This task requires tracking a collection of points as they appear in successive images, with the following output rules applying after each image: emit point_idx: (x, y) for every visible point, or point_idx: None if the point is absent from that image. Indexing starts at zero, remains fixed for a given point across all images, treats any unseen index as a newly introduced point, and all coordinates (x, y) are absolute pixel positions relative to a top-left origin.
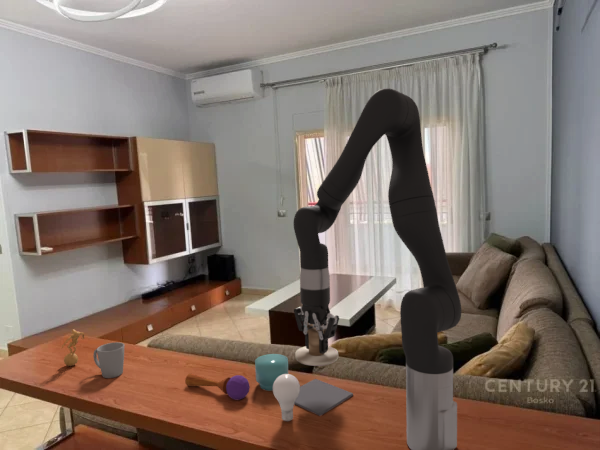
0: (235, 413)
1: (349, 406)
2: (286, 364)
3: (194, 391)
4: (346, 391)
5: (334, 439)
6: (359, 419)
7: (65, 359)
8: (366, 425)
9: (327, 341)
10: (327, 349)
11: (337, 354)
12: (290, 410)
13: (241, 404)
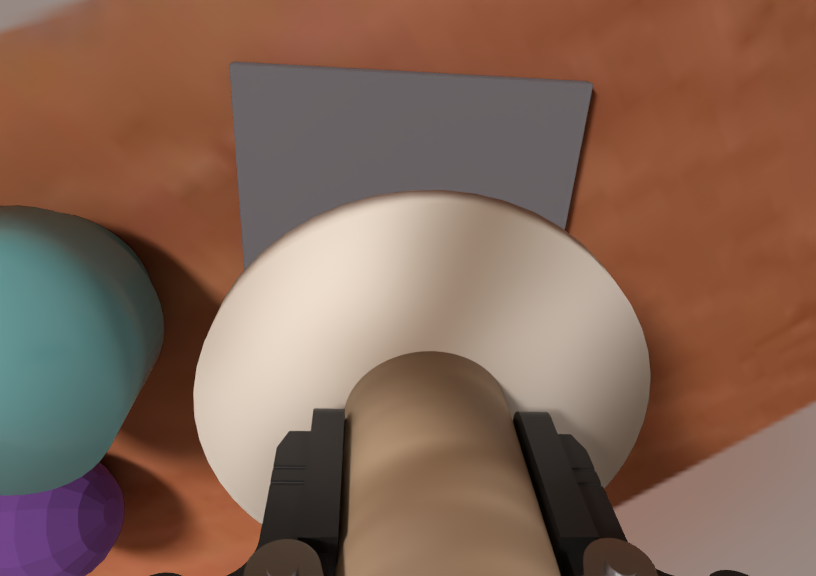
0: (204, 547)
1: (624, 208)
2: (105, 343)
3: None
4: (541, 90)
5: (676, 448)
6: (723, 280)
7: None
8: (773, 301)
9: (614, 529)
10: (579, 453)
11: (637, 332)
12: None
13: (152, 499)
